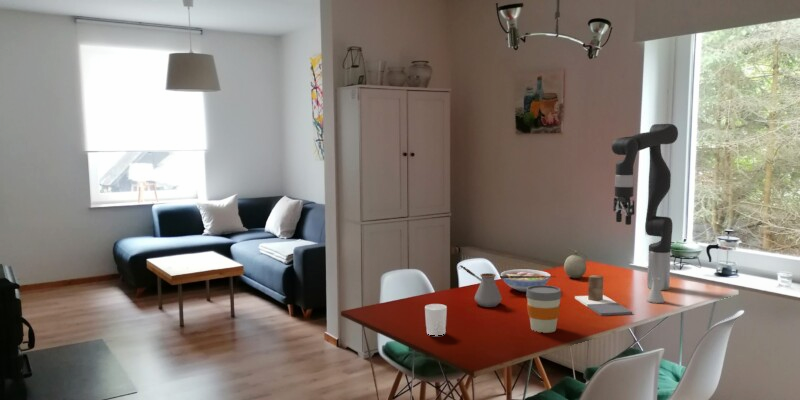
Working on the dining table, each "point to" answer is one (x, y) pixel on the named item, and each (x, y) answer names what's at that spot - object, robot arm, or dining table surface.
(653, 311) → the dining table surface
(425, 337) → the dining table surface
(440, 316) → the white cup
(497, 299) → the coffee pot
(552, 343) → the dining table surface
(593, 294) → the block
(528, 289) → the reusable coffee cup
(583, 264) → the fruit
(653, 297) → the flask
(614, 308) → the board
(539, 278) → the ramen bowl
